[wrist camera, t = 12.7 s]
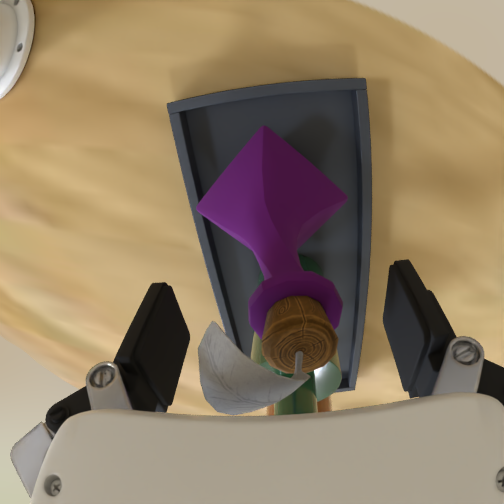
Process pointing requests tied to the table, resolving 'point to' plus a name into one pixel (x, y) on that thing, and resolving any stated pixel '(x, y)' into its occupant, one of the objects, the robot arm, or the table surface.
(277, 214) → the perfume bottle
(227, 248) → the tray
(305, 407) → the green bottle
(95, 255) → the table surface
